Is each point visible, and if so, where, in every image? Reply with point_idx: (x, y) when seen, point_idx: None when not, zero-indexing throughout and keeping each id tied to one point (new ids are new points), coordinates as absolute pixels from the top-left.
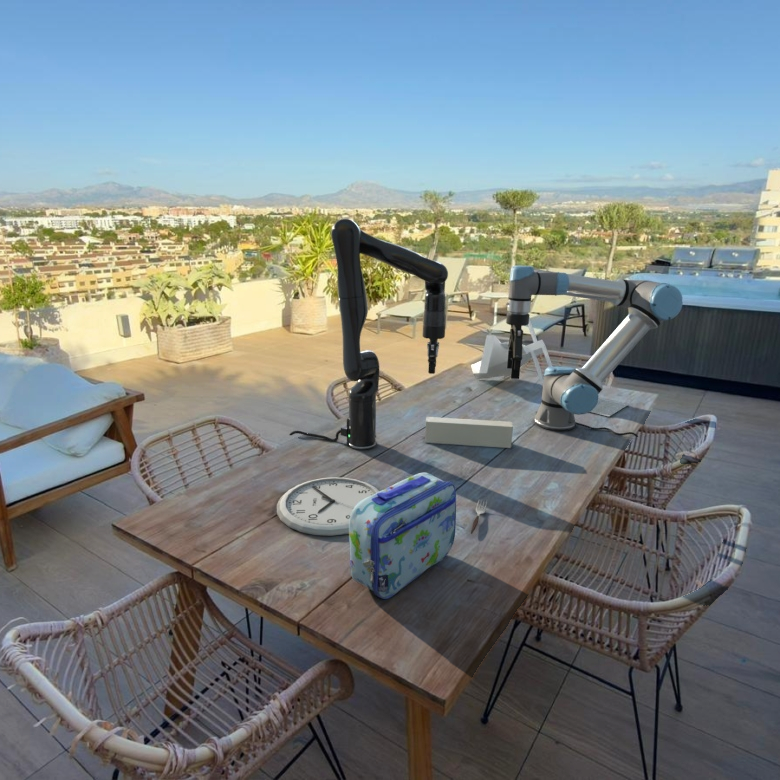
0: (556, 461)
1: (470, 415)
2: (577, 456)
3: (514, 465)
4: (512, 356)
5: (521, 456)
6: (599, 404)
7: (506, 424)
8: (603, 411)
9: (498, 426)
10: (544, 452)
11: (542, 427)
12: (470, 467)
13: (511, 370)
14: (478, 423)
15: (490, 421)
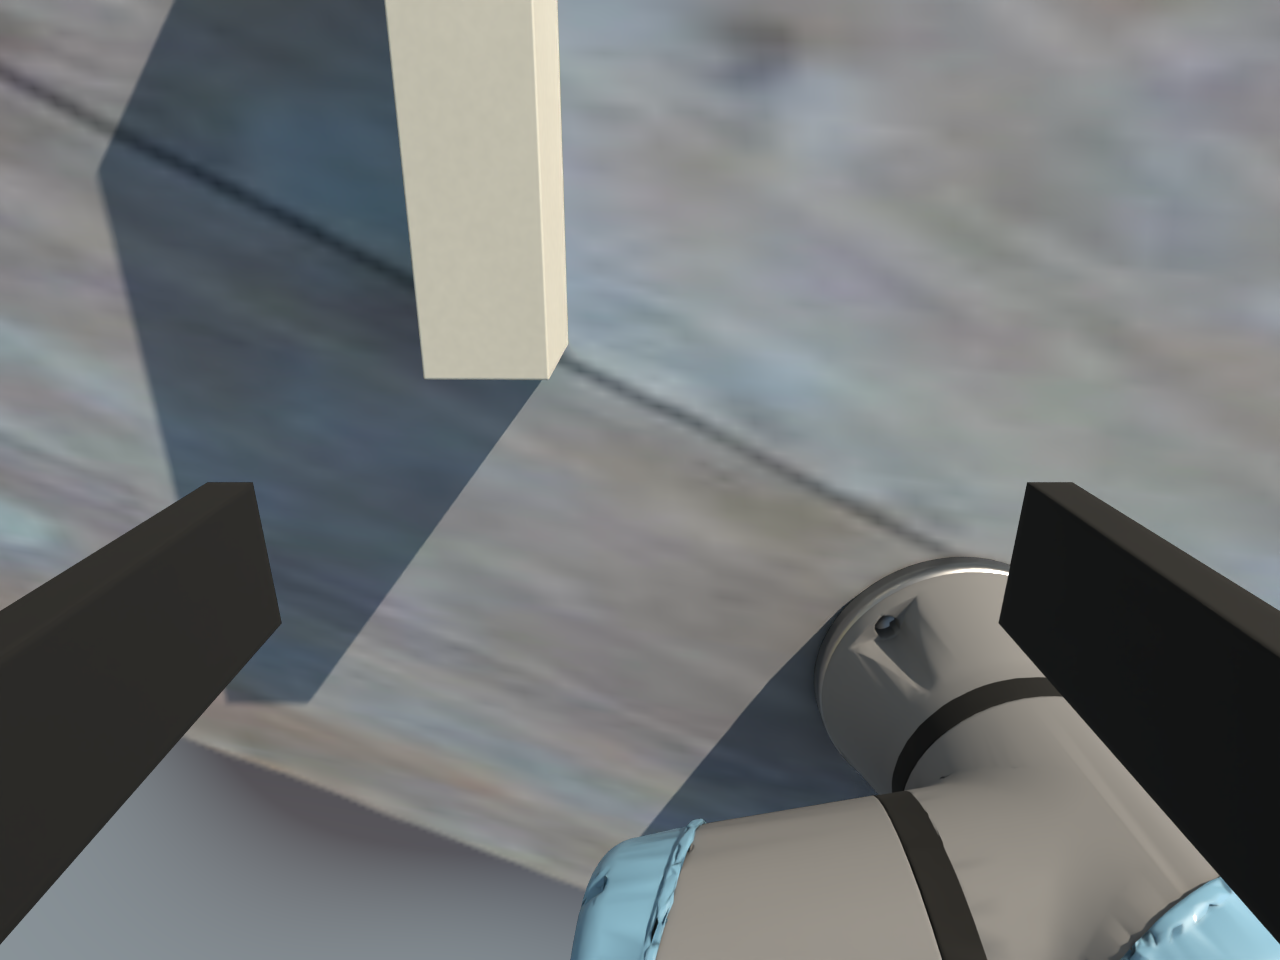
0: (339, 588)
1: (1161, 43)
2: (443, 701)
3: (192, 338)
4: (1200, 744)
5: (350, 399)
6: None
7: (467, 327)
8: None
9: (411, 249)
10: (454, 544)
11: (863, 592)
12: (33, 7)
13: (136, 555)
14: (422, 38)
15: (510, 176)
